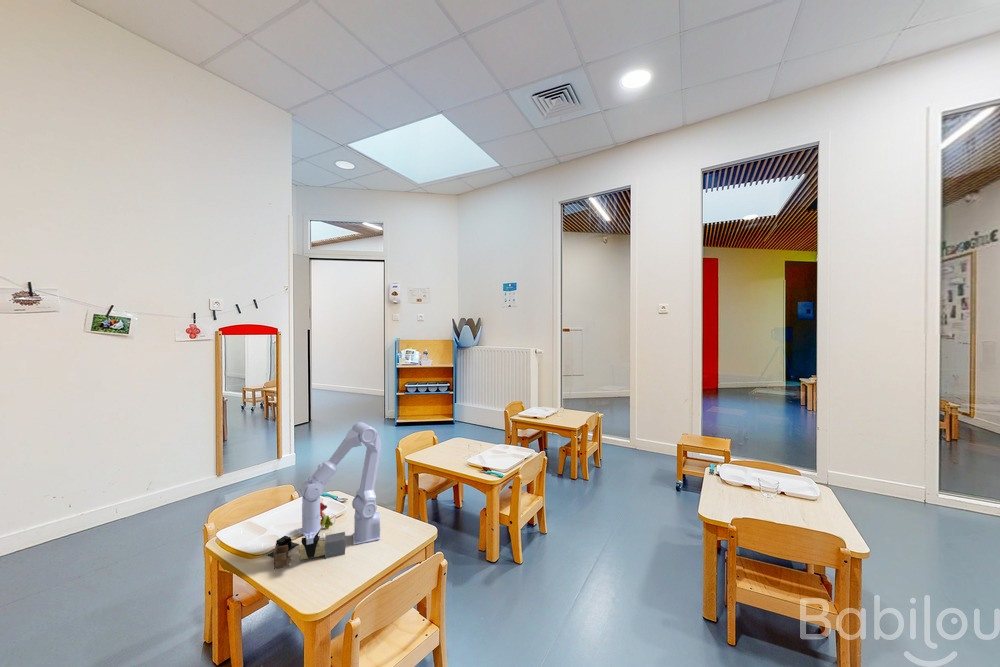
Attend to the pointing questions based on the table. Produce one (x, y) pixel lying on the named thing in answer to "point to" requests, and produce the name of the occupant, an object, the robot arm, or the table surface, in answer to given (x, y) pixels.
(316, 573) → the table surface
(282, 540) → the black recessed box
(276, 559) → the socket
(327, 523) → the bird rattle
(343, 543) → the sleeve
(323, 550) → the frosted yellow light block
